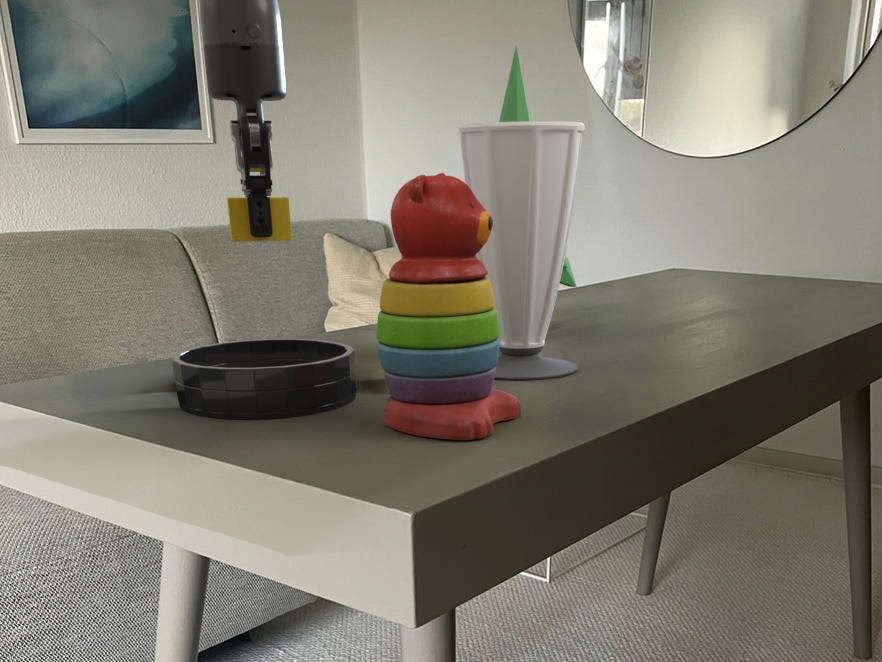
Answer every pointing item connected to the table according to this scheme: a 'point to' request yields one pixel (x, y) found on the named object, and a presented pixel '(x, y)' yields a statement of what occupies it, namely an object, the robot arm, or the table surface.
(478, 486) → the table surface
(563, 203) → the cup
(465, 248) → the stacking bear
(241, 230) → the sponge
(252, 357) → the bowl
